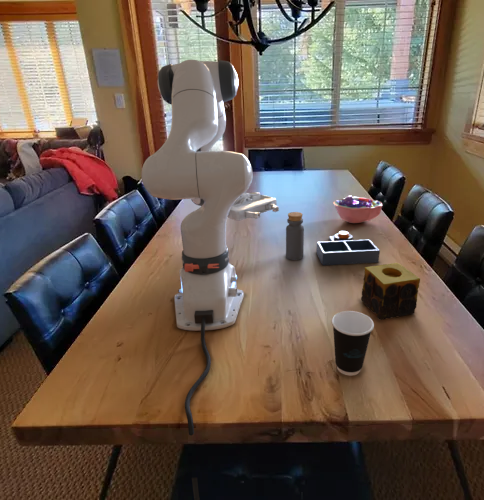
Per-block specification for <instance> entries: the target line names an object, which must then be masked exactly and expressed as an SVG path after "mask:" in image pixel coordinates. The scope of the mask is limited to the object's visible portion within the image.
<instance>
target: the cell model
mask: <svg viewBox="0 0 484 500" xmlns="http://www.w3.org/2000/svg"><path fill="white" fill-rule="evenodd" d="M332 204H333V205H334V207H335V210H336V213H337V214H338V216H339V218H340V219H341V220H342V221H344V222H347V223H350V224H360V223H361V224H362V223H364V222H371V221H372V220H374V219H376V218H378V216H380V214H381V212H382V208H383V202H382V201H380V200H375V199H371V198H368V197H359V196H352V195H348V196H346V197H345V198H339V199H336V200H334V201H333V202H332Z"/></svg>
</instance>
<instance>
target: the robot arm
mask: <svg viewBox="0 0 484 500" xmlns="http://www.w3.org/2000/svg"><path fill="white" fill-rule="evenodd" d="M157 87H158V91H159V94H160V95H161V98H162V99H163V101H164V102H166V103H167V104H168V105H171V123H170V124H171V126H170V131H169V134H168V136H167V138H166V140H165V141H164V143H163V144H162V146H160V148H159V149H158V150H157V151H155V152H154V153H153V154H151V155H150V156H148V157H147V158H146V159H145V161H144V163H143V165H142V168H141V174H140V175H141V176H140V177H141V182H142V185H143V187H144V189H145V190H146V191H147V193H148V194H149V195H150V196H151V197H153V198H157V199H163V200H172V201H173V200H174V201H177V200H191V201H192V203H193V204H194V205H196V206H199V208H197V209H195V210H193V211H192V212H190V213H188V214H187V215H186V216H185V217H184V218H183V219H182V220H181V223H180V235H181V244H182V245H181V246H182V251H181V263H182V267H181V268H180V269H179V270H178V272H179V281H180V288H178V290H177V291H178V292H177V293H175V294H174V296H173V300H174V311H175V312H174V313H175V321H176V322H175V323H176V328H178V329H180V330H184V331H193V332H195V331H196V332H197V331H198V332H200V343H201V349H202V351H203V354H204V356H205V359H206V364H205V368H204V370H203V372H202V374H201V375H200V376H199V378H198V379H197V380H196V381H195V382H194V384H193V385H192V386H191V387H190V389H189V390H188V392H187V393H186V397H185V400H184V411H185V415H186V420H187V428H188V436H190V437H191V436H193V435H194V434H195V429H194V428H195V427H194V419H193V415H192V410H191V401H192V398H193V395H194V394H195V392H196V390H197V389H198V387H199V386H200V385H201V384H202V382H203V381H205V379H206V377H207V376H208V374H209V372H210V370H211V365H212V358H211V355H210V353H209V350H208V347H207V344H206V339H205V338H206V331H213V330H220V329H224V328H227V327H231V326H233V325H235V323H236V321H237V318H238V315H239V312H240V309H241V306H242V303H243V300H244V297H245V292H244V290H242V289H239V288H238V287H237V280H238V275H237V274H236V267H235V266H234V265H232V264H231V262H230V252H229V248H228V246H227V220H228V219H231V220H232V221H235V222H241V221H243V220H246V219H255V220H256V219H260V218H261V214H264V213H268V212H270V211H272V212H273V213H277V212H279V211H280V207H279V206H278V203H277V198H276V197H272V196H269V195H265V194H261V193H260V192H257V191H255V192H247V191H248V190H249V188H250V186H251V185H252V182H253V177H254V175H253V167H252V164H251V162H250V160H249V159H248V157H247V156H246V155H245V154H243V153H241V152H236V151H229V150H211V149H213V147H214V146H215V144H216V143H217V142H218V141H219V140H220V139H221V138H222V137H223V135H224V133H225V131H226V125H227V117H226V111H225V106H224V103H226V102H229V101H231V100H233V99H234V98H235V97H236V96H237V93H238V89H239V77H238V73H237V71H236V69H235V67H234V65H233V64H232V63H231V62H230V61H227V60H218V61H213V60H197V59H186V60H183V61H181V62H179V63H174V64H173V63H169V64H165V65H163V66H162V67H161V68H160V69H159V70H158V74H157ZM191 483H192V491H193V499H194V500H200V492H199V484H198V477H191Z"/></svg>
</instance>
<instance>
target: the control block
mask: <svg viewBox="0 0 484 500" xmlns="http://www.w3.org/2000/svg"><path fill="white" fill-rule="evenodd" d="M338 234H339V232H338V233H335V234H334V235H330V236H328V241H345V240H354V236H353V235H352V234H351V233H349V237H348V238H340V237H338Z"/></svg>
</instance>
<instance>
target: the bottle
mask: <svg viewBox="0 0 484 500" xmlns="http://www.w3.org/2000/svg"><path fill="white" fill-rule="evenodd" d="M303 215H304V214H303V213H302V212H299V211H291V212H289V213H287V216H288V217H287V219H286V223H287V225H286V227H285V257H286V258H287V259H288V260H291V261H298V260H302V259H303V258H304V249H305V248H304V246H305V227H304V225H302V224H304V219H303Z"/></svg>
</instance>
